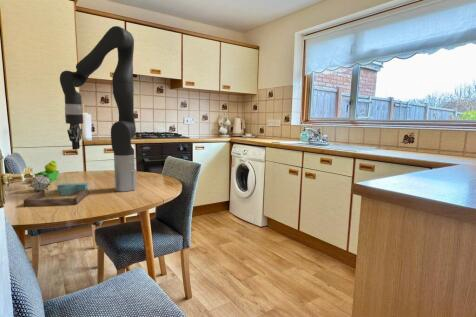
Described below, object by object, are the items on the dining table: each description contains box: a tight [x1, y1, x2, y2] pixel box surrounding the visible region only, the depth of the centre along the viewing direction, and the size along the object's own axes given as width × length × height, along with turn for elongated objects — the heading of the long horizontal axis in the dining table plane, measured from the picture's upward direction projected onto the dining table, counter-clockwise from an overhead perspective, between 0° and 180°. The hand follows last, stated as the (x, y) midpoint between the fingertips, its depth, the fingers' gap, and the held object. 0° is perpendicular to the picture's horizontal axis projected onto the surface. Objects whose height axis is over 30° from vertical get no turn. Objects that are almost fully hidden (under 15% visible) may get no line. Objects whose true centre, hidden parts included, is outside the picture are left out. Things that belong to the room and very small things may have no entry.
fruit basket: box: [33, 160, 60, 184], centre depth 153 cm, size 11×9×11 cm
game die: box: [28, 173, 51, 192], centre depth 134 cm, size 9×8×10 cm
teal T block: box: [56, 182, 89, 196], centre depth 133 cm, size 12×11×3 cm
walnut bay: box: [22, 188, 89, 208], centre depth 120 cm, size 19×15×2 cm
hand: (76, 148), depth 142 cm, fingers open, 2 cm apart
